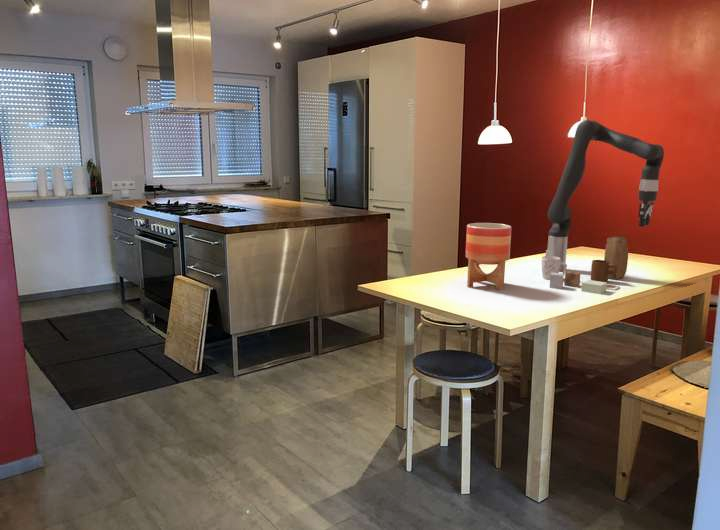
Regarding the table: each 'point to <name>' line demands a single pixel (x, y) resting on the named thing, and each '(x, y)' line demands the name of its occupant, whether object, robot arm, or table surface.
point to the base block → (594, 286)
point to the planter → (487, 251)
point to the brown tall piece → (617, 255)
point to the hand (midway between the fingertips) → (644, 225)
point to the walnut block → (572, 279)
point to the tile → (612, 287)
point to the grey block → (556, 280)
